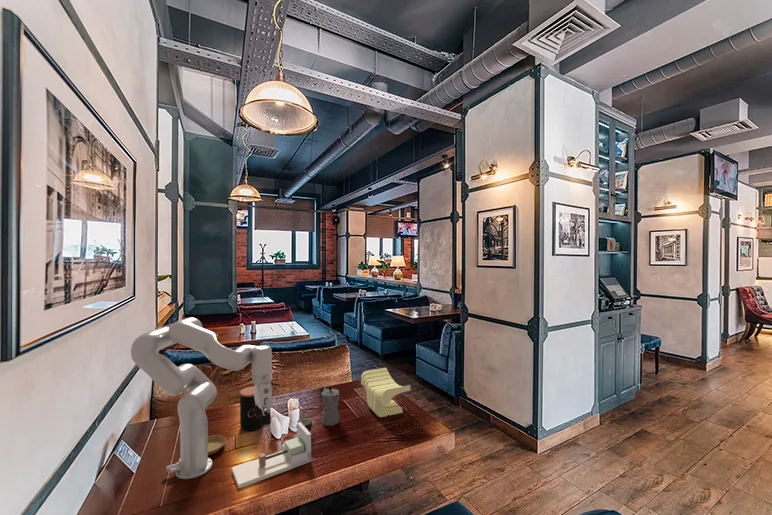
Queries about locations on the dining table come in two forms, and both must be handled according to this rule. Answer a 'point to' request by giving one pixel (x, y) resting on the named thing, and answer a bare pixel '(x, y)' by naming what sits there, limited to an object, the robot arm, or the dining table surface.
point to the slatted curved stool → (382, 391)
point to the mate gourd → (306, 422)
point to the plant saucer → (215, 443)
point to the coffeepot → (330, 406)
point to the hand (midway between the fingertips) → (262, 419)
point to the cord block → (285, 450)
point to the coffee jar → (248, 411)
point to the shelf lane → (273, 462)
